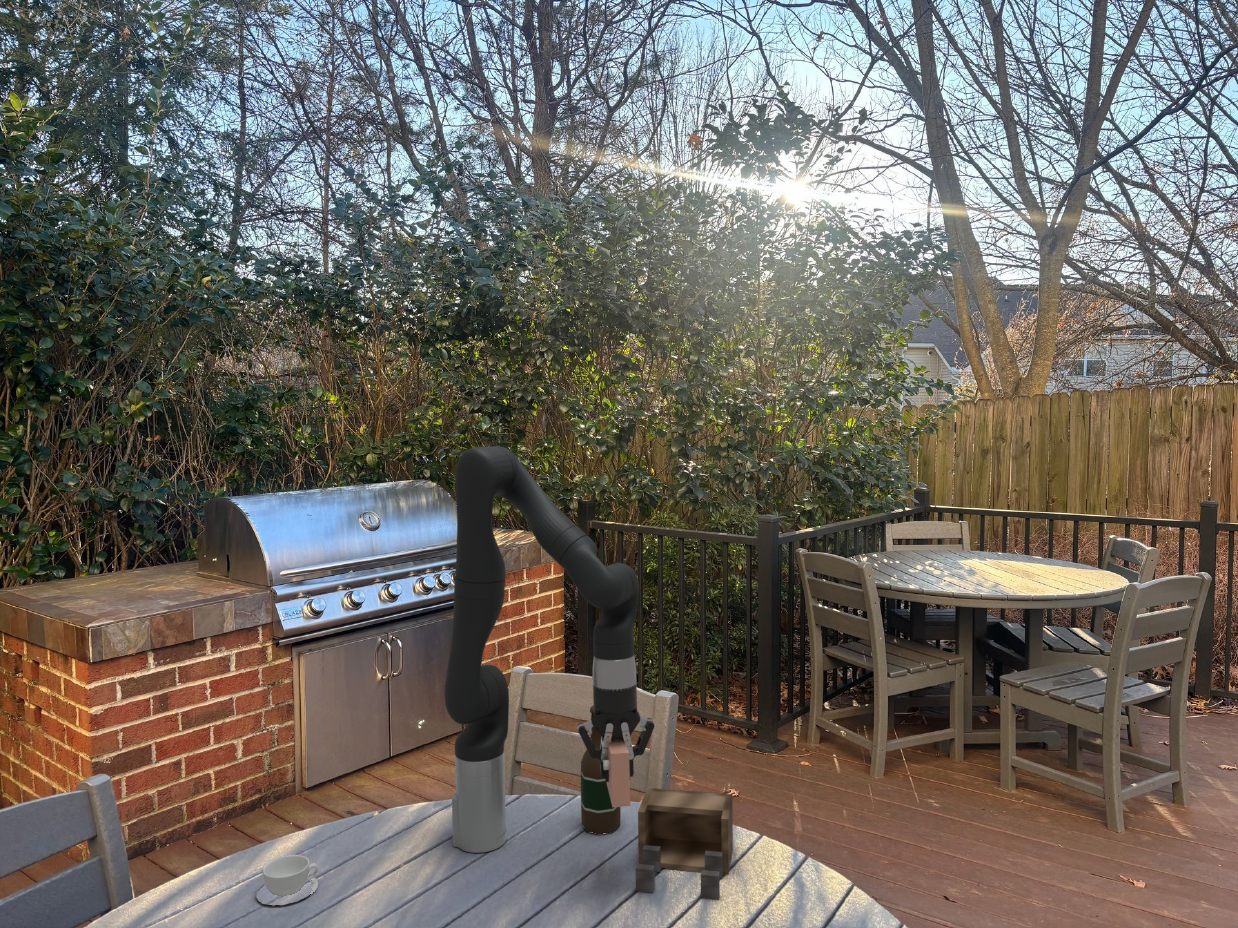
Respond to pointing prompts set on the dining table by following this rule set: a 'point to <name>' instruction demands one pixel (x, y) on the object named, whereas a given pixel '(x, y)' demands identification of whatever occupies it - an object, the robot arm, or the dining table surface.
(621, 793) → the door
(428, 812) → the dining table surface
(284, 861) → the teacup
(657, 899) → the dining table surface
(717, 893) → the cabinet
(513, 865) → the dining table surface
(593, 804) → the beer bottle
